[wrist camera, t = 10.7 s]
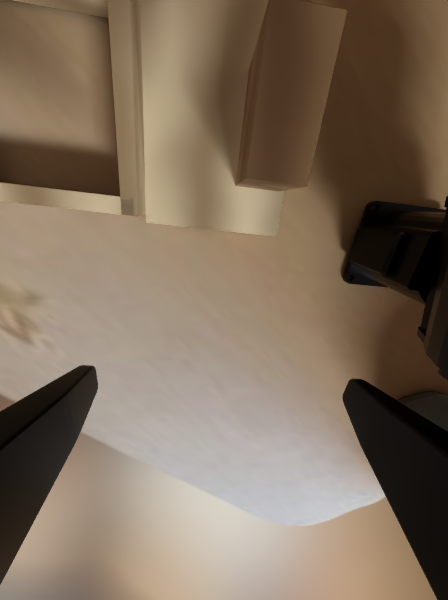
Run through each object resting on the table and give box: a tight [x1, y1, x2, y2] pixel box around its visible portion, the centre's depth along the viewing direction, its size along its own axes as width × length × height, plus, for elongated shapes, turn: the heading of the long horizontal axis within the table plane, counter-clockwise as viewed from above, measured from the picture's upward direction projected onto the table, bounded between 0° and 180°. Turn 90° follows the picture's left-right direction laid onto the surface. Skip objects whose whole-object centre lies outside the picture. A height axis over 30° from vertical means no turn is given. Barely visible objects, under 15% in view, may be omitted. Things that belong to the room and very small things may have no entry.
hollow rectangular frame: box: [0, 0, 347, 237], centre depth 11 cm, size 20×12×6 cm, turn 84°
